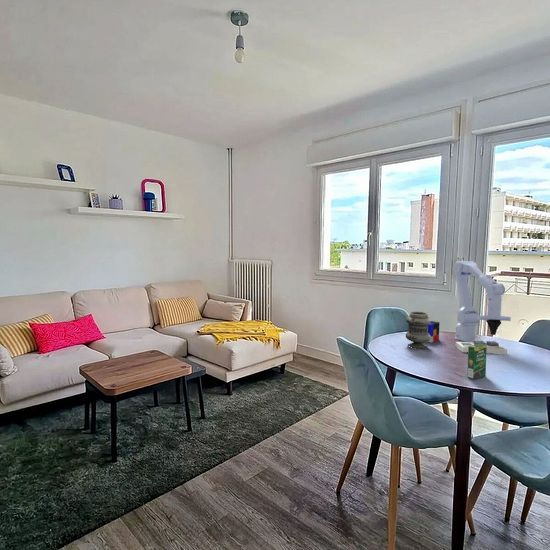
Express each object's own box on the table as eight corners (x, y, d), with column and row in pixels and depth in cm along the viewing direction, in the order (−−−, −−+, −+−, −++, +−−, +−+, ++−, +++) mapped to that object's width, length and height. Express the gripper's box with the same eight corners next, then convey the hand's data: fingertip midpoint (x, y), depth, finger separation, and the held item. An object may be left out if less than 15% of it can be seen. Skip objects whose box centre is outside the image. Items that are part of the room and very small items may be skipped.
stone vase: (410, 350, 178) (411, 315, 176) (401, 343, 190) (402, 310, 188) (434, 350, 178) (435, 314, 176) (423, 343, 190) (425, 310, 188)
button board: (462, 352, 174) (462, 346, 174) (455, 346, 184) (455, 341, 184) (506, 354, 171) (507, 348, 171) (497, 348, 181) (497, 342, 181)
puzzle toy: (430, 343, 191) (430, 324, 191) (412, 339, 199) (413, 321, 198) (438, 339, 198) (439, 322, 197) (421, 336, 205) (422, 319, 205)
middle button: (476, 347, 177) (477, 342, 177) (473, 345, 181) (473, 340, 181) (485, 347, 176) (485, 343, 176) (482, 345, 180) (482, 340, 180)
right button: (489, 348, 176) (490, 343, 176) (486, 345, 180) (486, 341, 180) (498, 348, 175) (498, 343, 175) (494, 346, 179) (495, 341, 179)
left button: (463, 349, 178) (464, 345, 178) (460, 347, 182) (461, 342, 182) (472, 350, 178) (472, 345, 177) (469, 348, 181) (469, 343, 181)
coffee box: (473, 380, 138) (474, 347, 137) (466, 377, 141) (467, 345, 140) (486, 376, 142) (487, 344, 141) (479, 374, 144) (480, 342, 143)
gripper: (481, 308, 173) (480, 336, 174) (514, 309, 171) (512, 337, 172) (476, 306, 180) (475, 332, 181) (507, 307, 178) (505, 333, 179)
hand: (493, 334), depth 177 cm, fingers closed
